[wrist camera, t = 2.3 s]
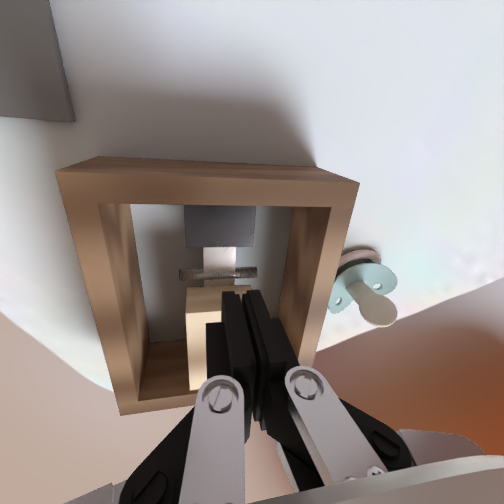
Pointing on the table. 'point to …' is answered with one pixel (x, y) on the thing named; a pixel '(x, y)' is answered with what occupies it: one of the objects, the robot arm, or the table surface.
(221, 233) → the lever
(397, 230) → the table surface
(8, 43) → the rubber mat
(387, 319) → the pacifier
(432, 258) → the table surface
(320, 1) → the table surface
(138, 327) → the block
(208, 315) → the tan rectangular block
